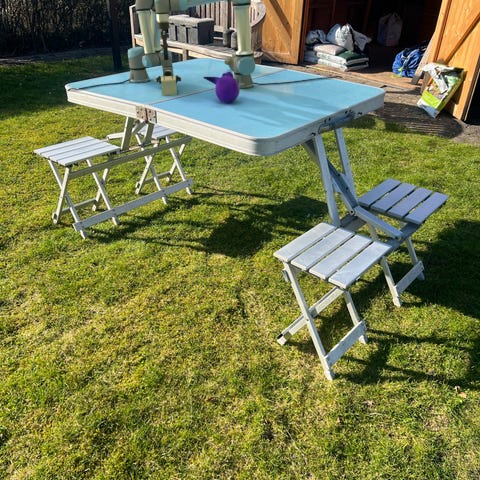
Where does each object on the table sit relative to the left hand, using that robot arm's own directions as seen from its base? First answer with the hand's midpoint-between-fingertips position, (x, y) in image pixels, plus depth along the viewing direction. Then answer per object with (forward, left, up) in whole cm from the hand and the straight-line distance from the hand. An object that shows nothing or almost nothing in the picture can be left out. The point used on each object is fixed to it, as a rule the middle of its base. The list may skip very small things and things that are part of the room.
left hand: (168, 82), depth 302 cm
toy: (+28, -37, -6) cm, 47 cm away
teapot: (+66, +61, -6) cm, 90 cm away
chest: (-1, -3, -6) cm, 7 cm away
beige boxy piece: (-1, -4, +2) cm, 5 cm away
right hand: (-1, -8, +16) cm, 18 cm away
